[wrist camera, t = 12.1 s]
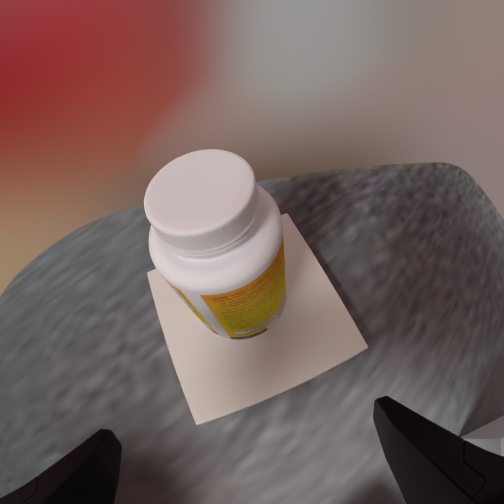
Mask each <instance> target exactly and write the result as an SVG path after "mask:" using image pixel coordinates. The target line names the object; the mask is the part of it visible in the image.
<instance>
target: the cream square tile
mask: <svg viewBox="0 0 504 504" xmlns="http://www.w3.org/2000/svg"><path fill="white" fill-rule="evenodd" d="M281 218H282V226H283V241H284V258H285V281H286V301H285V306H284V309H283V312H282V314H281V316H280V318H279V319H278V321H277V322H276V323H275V324H274V325H273V326H272V327H271V328H270V329H269V330H268V331H266V332H265V333H263V334H261V335H259V336H257V337H254V338H251V339H246V340H232V339H227V338H224V337H221V336H219V335H217V334H215V333H214V332H212V331H211V330H210V329H209V328H207V327H206V326H205V325H204V323H203V322H202V321H201V320H200V319H199V318H198V317H197V316H196V315H195V314H194V313H193V312H192V310H191V309H190V308H189V307H188V306H187V305H186V304H185V303H184V301H183V300H182V299H181V298H180V297H179V296H178V295H177V293H176V292H175V291H174V290H173V289H172V288H171V286H170V285H169V284H168V283H167V282H166V280H165V279H164V278H163V277H162V276H161V274H160V273H159V272H158V270H157V269H154V270H152V271H150V272H147V275H148V279H149V283H150V287H151V291H152V294H153V298H154V302H155V305H156V309H157V312H158V316H159V319H160V323H161V326H162V329H163V333H164V336H165V339H166V342H167V345H168V349H169V352H170V355H171V358H172V361H173V364H174V367H175V369H176V372H177V375H178V378H179V381H180V384H181V386H182V389H183V392H184V394H185V397H186V400H187V402H188V405H189V407H190V410H191V412H192V415H193V417H194V420H195V422H196V425H200V424H204V423H207V422H210V421H213V420H216V419H218V418H221V417H224V416H227V415H230V414H232V413H235V412H237V411H240V410H243V409H245V408H248V407H250V406H253V405H255V404H258V403H260V402H262V401H265V400H267V399H269V398H272V397H274V396H276V395H279V394H281V393H283V392H285V391H288V390H290V389H292V388H294V387H296V386H298V385H300V384H302V383H305V382H307V381H309V380H311V379H313V378H315V377H317V376H319V375H321V374H323V373H325V372H326V371H328V370H330V369H332V368H334V367H336V366H338V365H340V364H342V363H343V362H345V361H347V360H349V359H351V358H352V357H354V356H356V355H358V354H359V353H361V352H363V351H364V350H366V349H367V348H368V346H367V344H366V342H365V340H364V339H363V337H362V335H361V333H360V331H359V330H358V328H357V326H356V324H355V323H354V321H353V319H352V318H351V316H350V314H349V312H348V311H347V309H346V307H345V306H344V304H343V302H342V300H341V299H340V297H339V295H338V294H337V292H336V290H335V289H334V287H333V285H332V284H331V282H330V280H329V279H328V277H327V275H326V274H325V272H324V271H323V269H322V267H321V266H320V264H319V262H318V261H317V259H316V258H315V256H314V254H313V253H312V251H311V250H310V248H309V246H308V245H307V243H306V242H305V240H304V238H303V237H302V235H301V234H300V232H299V231H298V229H297V227H296V226H295V224H294V223H293V221H292V220H291V218H290V217H289V215H288V214H287V213H286V214H283V215H281Z"/></svg>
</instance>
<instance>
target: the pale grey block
mask: <svg viewBox="0 0 504 504" xmlns="http://www.w3.org/2000/svg"><path fill="white" fill-rule="evenodd" d="M461 438H463V439H464V440H467V441H468V442H470V443H472V444H474V445H476V446H478V447H481V448H483V449H485V450H487V451H490V452H493V453H495V454H498V455H501V456H504V415H503V416H501V417H499V418H498V419H496V420H494V421H492V422H490V423H488V424H486V425H484V426H482V427H480V428H478V429H476V430H474V431H472V432H470V433H468V434H466V435H464V436H461Z"/></svg>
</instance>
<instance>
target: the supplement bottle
mask: <svg viewBox="0 0 504 504" xmlns="http://www.w3.org/2000/svg"><path fill="white" fill-rule="evenodd" d="M144 208H145V213H146V216H147V218H148V220H149V221H150V223H151V228H150V232H149V250H150V255H151V258H152V261H153V263H154V265H155V267H156V269H157V270H158V272H159V273H160V274H161V276H162V277H163V278H164V279H165V280H166V282H167V283H168V284H169V285H170V286H171V288H172V289H173V290H174V291H175V292H176V293H177V295H178V296H179V297H180V298H181V299H182V300H183V301H184V303H185V304H186V305H187V306H188V307H189V308H190V309H191V310H192V312H193V313H194V314H195V315H196V316H197V317H198V318H199V319H200V320H201V321H202V322H203V323H204V325H205V326H206V327H207V328H209V329H210V330H211V331H212V332H214V333H215V334H217V335H219V336H221V337H224V338H227V339H232V340H246V339H251V338H254V337H257V336H259V335H261V334H263V333H265V332H266V331H268V330H269V329H270V328H271V327H272V326H273V325H274V324H275V323H276V322H277V321H278V319H279V318H280V316H281V314H282V312H283V309H284V306H285V301H286V281H285V258H284V241H283V226H282V218H281V214H280V211H279V208H278V206H277V204H276V202H275V200H274V199H273V198H272V196H271V195H270V194H269V193H268V192H267V191H266V190H265V189H264V188H262V187H261V186H259V185H258V184H256V180H255V175H254V172H253V170H252V168H251V166H250V165H249V164H248V163H247V162H246V161H245V160H244V159H243V158H242V157H240V156H238V155H236V154H234V153H232V152H229V151H224V150H218V149H206V150H199V151H195V152H191V153H188V154H185V155H183V156H180V157H178V158H176V159H174V160H173V161H171V162H170V163H168V164H167V165H166V166H164V167H163V168H162V169H161V170H160V171H159V172H158V173H157V174H156V175H155V177H154V178H153V179H152V181H151V183H150V184H149V186H148V188H147V190H146V194H145V199H144Z"/></svg>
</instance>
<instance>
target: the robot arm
mask: <svg viewBox="0 0 504 504" xmlns="http://www.w3.org/2000/svg"><path fill="white" fill-rule="evenodd" d="M373 420H374V423H375V426H376V429H377V433H378V436H379V439H380V442H381V445H382V448H383V451H384V454H385V457H386V460H387V462H388V464H389V466H390V468H391V471H392V473H393V475H394V477H395V479H396V481H397V483H398V486H399V488H400V490H401V492H402V494H403V497H404V499H405V501H406V503H407V504H504V456H501V455H498V454H495V453H493V452H490V451H487V450H485V449H483V448H481V447H478V446H476V445H474V444H472V443H470V442H468V441H467V440H464V439H463V438H461V437H459V436H457V435H455V434H453V433H451V432H450V431H448V430H446V429H444V428H442V427H440V426H439V425H437V424H435V423H433V422H431V421H430V420H428V419H426V418H424V417H423V416H421V415H419V414H417V413H416V412H414V411H412V410H410V409H409V408H407V407H405V406H404V405H402V404H400V403H398V402H397V401H395V400H393V399H392V398H390V397H388V396H384V397H381V398H378V399H376V400H375V402H374V412H373ZM121 453H122V446H121V443H120V442H119V440H118V439H117V437H116V436H115V434H114V433H113V432H112V431H111V430H109V429H100V430H99V431H97V432H96V433H95V434H93V435H92V436H91V437H90V438H88V439H87V440H86V441H84V442H83V443H82V444H80V445H79V446H78V447H76V448H75V449H74V450H72V451H71V452H70V453H68V454H67V455H66V456H64V457H63V458H62V459H60V460H59V461H58V462H56V463H55V464H54V465H52V466H51V467H49V468H48V469H47V470H45V471H44V472H42V473H41V474H40V475H39V476H37V477H35V478H34V479H33V480H31V481H30V482H28V483H27V484H25V485H24V486H22V487H20V488H18V489H17V490H15V491H13V492H11V493H9V494H7V495H5V496H4V497H2V498H0V504H114V500H115V495H116V491H117V486H118V480H119V471H120V462H121Z"/></svg>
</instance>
